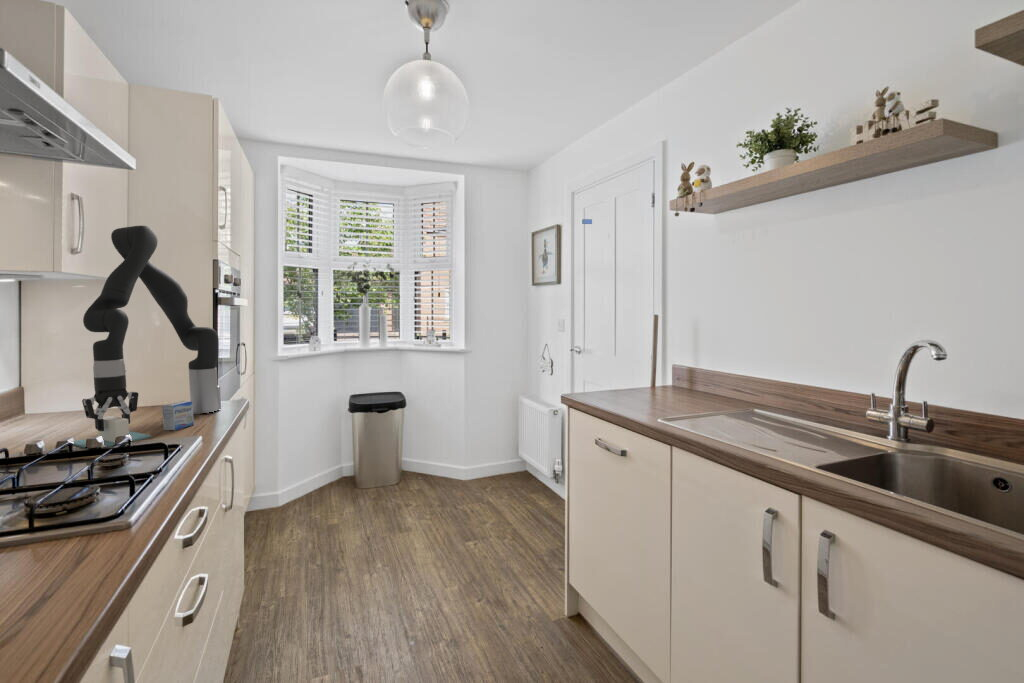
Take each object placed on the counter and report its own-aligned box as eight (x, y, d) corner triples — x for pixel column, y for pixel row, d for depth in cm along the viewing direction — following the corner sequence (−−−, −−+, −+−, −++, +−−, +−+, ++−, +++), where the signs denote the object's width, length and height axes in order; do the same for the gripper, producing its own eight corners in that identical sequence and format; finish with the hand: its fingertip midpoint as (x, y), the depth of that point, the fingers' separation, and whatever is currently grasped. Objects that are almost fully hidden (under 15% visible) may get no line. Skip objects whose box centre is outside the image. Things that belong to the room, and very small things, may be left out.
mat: (126, 432, 160) (126, 430, 160) (151, 437, 154) (151, 435, 154) (69, 444, 146) (69, 442, 146) (94, 450, 140) (94, 448, 140)
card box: (114, 421, 145) (98, 418, 149) (116, 442, 146) (99, 439, 150) (128, 419, 148) (111, 415, 152) (129, 439, 149) (112, 436, 153)
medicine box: (174, 431, 161) (172, 405, 161) (163, 430, 162) (161, 405, 162) (194, 425, 169) (192, 400, 168) (183, 424, 170) (182, 400, 169)
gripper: (129, 370, 156) (132, 422, 157) (74, 376, 143) (78, 432, 144) (143, 372, 153) (146, 424, 154) (87, 378, 140) (91, 435, 141)
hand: (113, 428), depth 149 cm, fingers open, 6 cm apart
